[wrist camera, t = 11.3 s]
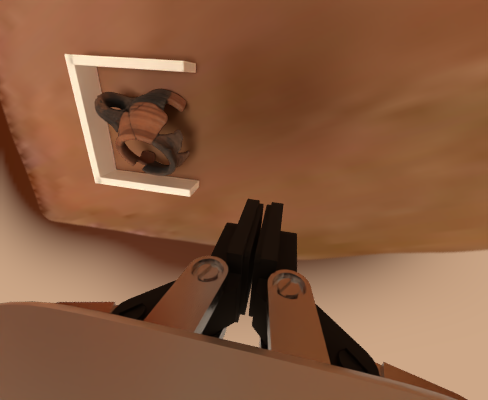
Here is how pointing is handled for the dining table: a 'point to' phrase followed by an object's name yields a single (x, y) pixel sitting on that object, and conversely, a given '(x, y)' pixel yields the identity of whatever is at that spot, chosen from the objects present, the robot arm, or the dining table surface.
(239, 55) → the dining table surface
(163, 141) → the pottery mug
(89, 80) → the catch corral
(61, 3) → the dining table surface
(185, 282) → the robot arm
